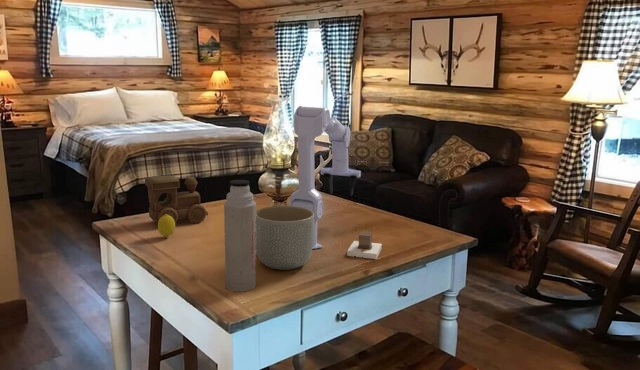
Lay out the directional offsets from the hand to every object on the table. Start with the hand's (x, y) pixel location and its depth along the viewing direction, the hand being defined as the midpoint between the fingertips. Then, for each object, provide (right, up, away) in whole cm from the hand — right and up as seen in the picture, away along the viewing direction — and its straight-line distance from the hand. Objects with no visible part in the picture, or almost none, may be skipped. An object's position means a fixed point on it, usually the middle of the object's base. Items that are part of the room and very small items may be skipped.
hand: (341, 193), depth 201 cm
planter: (-18, -20, -41) cm, 49 cm away
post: (+6, -18, -29) cm, 35 cm away
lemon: (-58, -14, -20) cm, 63 cm away
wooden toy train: (-59, -10, -3) cm, 60 cm away
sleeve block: (+6, -18, -29) cm, 35 cm away
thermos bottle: (-28, -23, -57) cm, 67 cm away
